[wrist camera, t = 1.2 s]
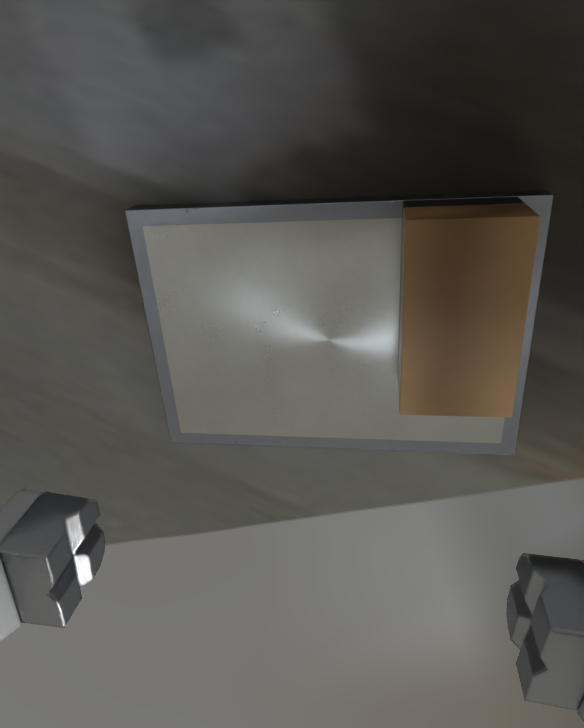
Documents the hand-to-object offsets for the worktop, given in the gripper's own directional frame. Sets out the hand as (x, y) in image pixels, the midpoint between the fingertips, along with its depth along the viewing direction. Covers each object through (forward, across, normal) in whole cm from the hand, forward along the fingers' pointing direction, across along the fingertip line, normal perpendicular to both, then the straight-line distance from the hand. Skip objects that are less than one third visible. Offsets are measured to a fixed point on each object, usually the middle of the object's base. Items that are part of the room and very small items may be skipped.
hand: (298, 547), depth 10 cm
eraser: (+18, -5, +1) cm, 19 cm away
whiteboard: (+19, +1, +4) cm, 20 cm away
